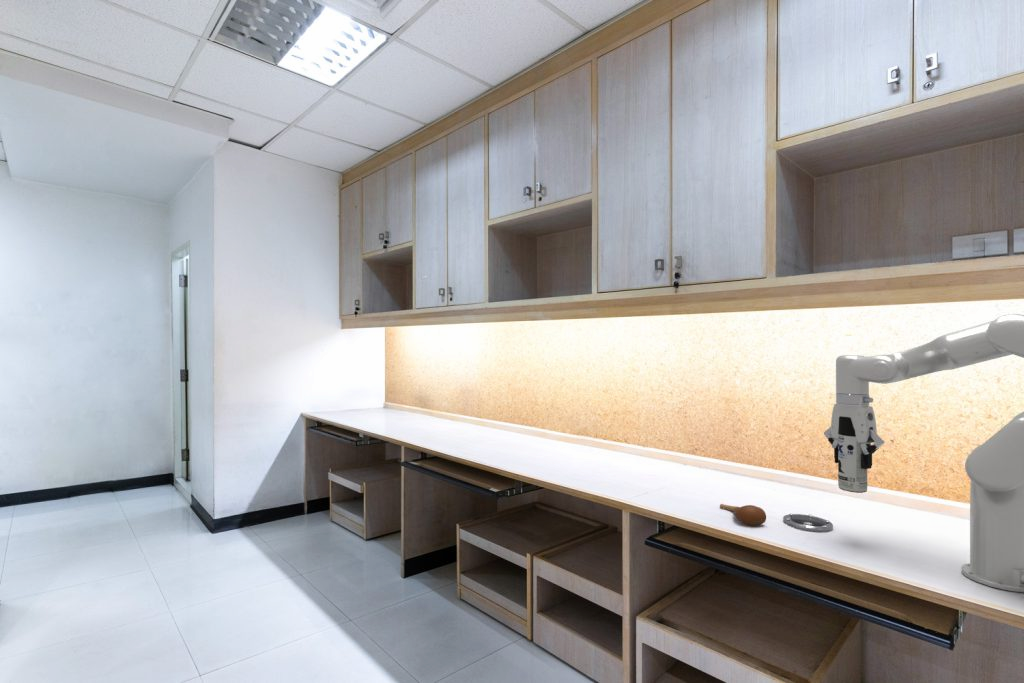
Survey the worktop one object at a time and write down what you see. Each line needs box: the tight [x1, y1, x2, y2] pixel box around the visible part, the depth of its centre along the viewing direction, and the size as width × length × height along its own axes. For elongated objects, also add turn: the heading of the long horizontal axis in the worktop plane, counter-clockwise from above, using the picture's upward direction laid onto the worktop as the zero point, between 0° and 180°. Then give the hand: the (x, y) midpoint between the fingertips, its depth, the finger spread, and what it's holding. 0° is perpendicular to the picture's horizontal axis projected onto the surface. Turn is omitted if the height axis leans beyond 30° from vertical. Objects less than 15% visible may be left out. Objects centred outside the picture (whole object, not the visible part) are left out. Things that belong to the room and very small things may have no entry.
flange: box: [782, 513, 834, 533], centre depth 153 cm, size 13×13×1 cm
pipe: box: [719, 503, 767, 527], centre depth 159 cm, size 8×19×6 cm, turn 14°
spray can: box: [837, 416, 868, 494], centre depth 139 cm, size 7×7×20 cm
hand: (852, 465), depth 139 cm, fingers closed on spray can, 6 cm apart
